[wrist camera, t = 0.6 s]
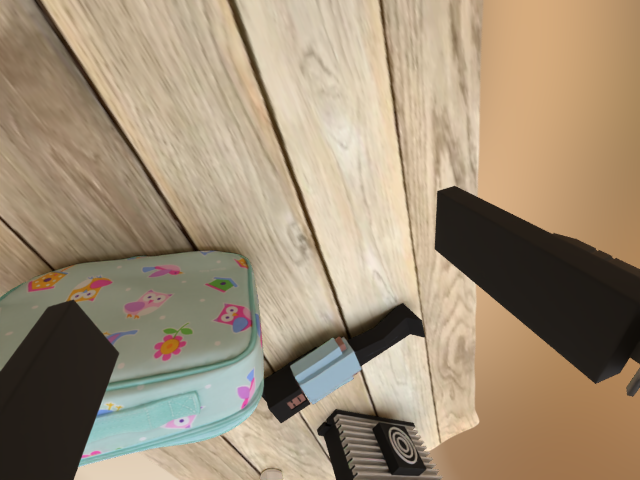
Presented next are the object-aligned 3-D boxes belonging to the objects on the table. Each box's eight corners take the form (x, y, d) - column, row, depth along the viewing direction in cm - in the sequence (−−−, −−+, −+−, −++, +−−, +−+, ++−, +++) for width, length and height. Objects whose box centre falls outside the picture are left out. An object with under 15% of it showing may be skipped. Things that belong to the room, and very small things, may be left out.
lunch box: (47, 329, 38) (-107, 552, 21) (10, 263, 34) (-236, 481, 16) (255, 297, 45) (276, 444, 27) (250, 239, 40) (272, 371, 22)
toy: (426, 345, 55) (284, 442, 50) (400, 319, 62) (272, 402, 56) (419, 310, 50) (259, 414, 44) (392, 285, 56) (248, 373, 50)
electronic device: (420, 416, 79) (473, 507, 62) (394, 440, 82) (438, 535, 65) (343, 400, 66) (385, 513, 49) (315, 431, 68) (346, 547, 51)
